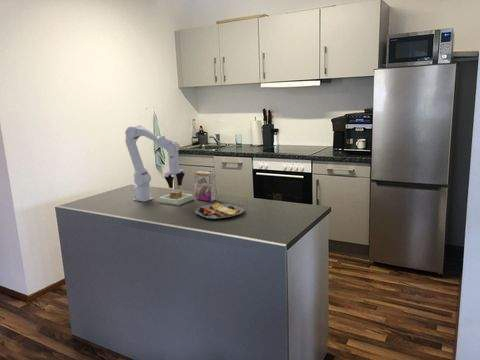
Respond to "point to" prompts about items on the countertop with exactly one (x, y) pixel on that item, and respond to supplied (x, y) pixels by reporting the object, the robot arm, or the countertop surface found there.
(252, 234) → the countertop surface
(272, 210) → the countertop surface
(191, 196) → the pale green tray
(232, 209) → the food plate
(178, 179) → the robot arm
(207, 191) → the candy bar box
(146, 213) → the countertop surface
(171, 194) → the walnut block
